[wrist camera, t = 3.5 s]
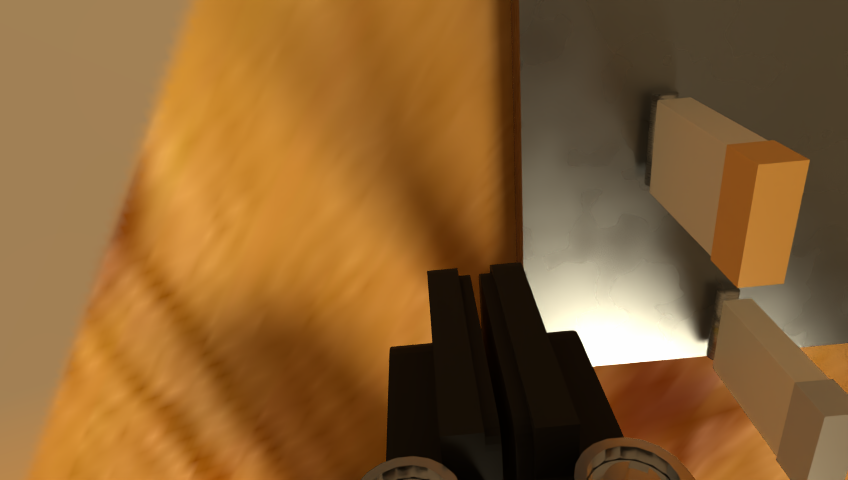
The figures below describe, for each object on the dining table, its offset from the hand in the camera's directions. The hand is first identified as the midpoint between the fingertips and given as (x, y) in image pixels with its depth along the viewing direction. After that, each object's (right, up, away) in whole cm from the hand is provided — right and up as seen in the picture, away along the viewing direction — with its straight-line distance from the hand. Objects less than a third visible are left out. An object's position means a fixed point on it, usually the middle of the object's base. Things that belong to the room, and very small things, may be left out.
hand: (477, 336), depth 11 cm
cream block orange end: (+7, +5, +9) cm, 12 cm away
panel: (+10, +6, +10) cm, 15 cm away
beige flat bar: (+10, -1, +12) cm, 16 cm away
